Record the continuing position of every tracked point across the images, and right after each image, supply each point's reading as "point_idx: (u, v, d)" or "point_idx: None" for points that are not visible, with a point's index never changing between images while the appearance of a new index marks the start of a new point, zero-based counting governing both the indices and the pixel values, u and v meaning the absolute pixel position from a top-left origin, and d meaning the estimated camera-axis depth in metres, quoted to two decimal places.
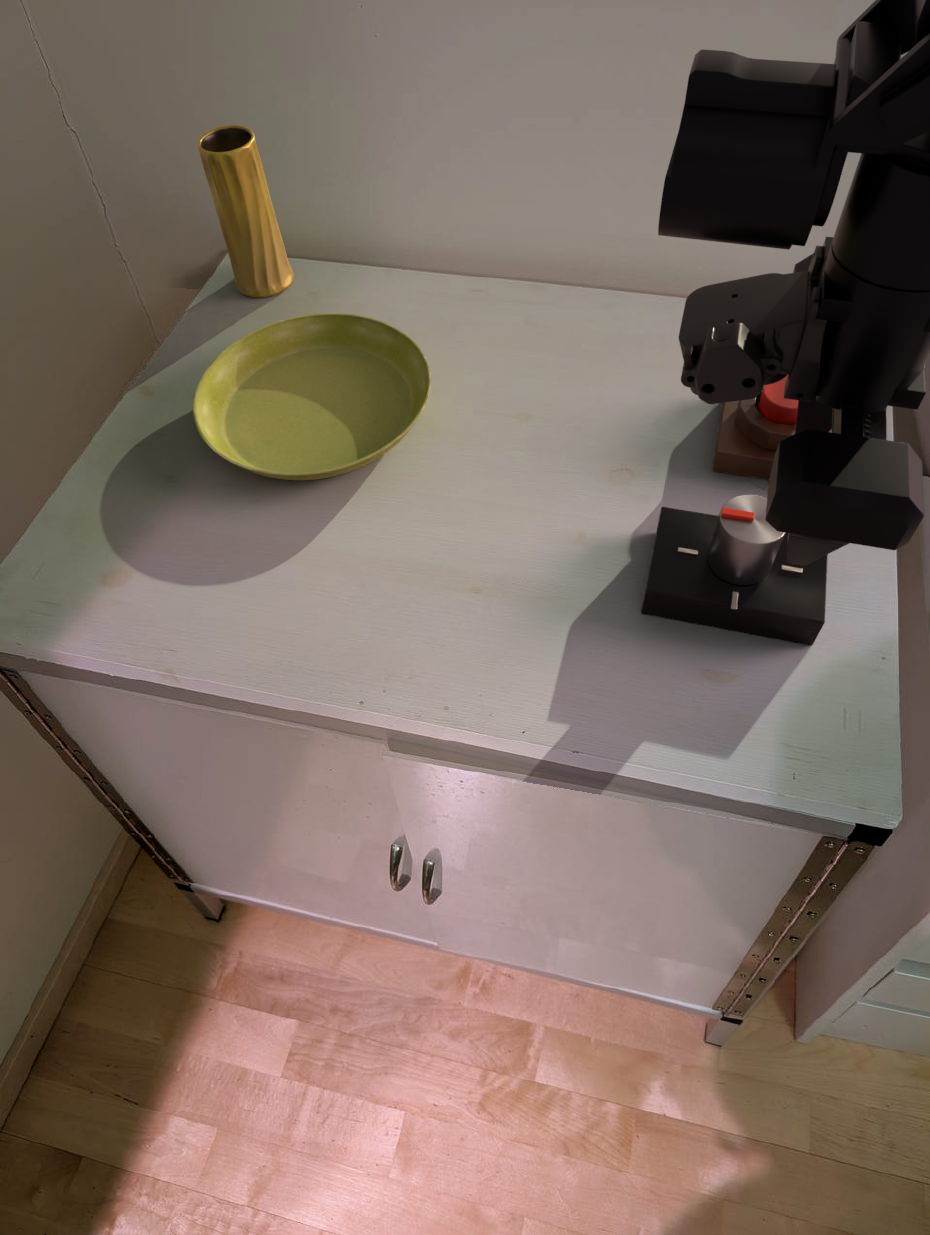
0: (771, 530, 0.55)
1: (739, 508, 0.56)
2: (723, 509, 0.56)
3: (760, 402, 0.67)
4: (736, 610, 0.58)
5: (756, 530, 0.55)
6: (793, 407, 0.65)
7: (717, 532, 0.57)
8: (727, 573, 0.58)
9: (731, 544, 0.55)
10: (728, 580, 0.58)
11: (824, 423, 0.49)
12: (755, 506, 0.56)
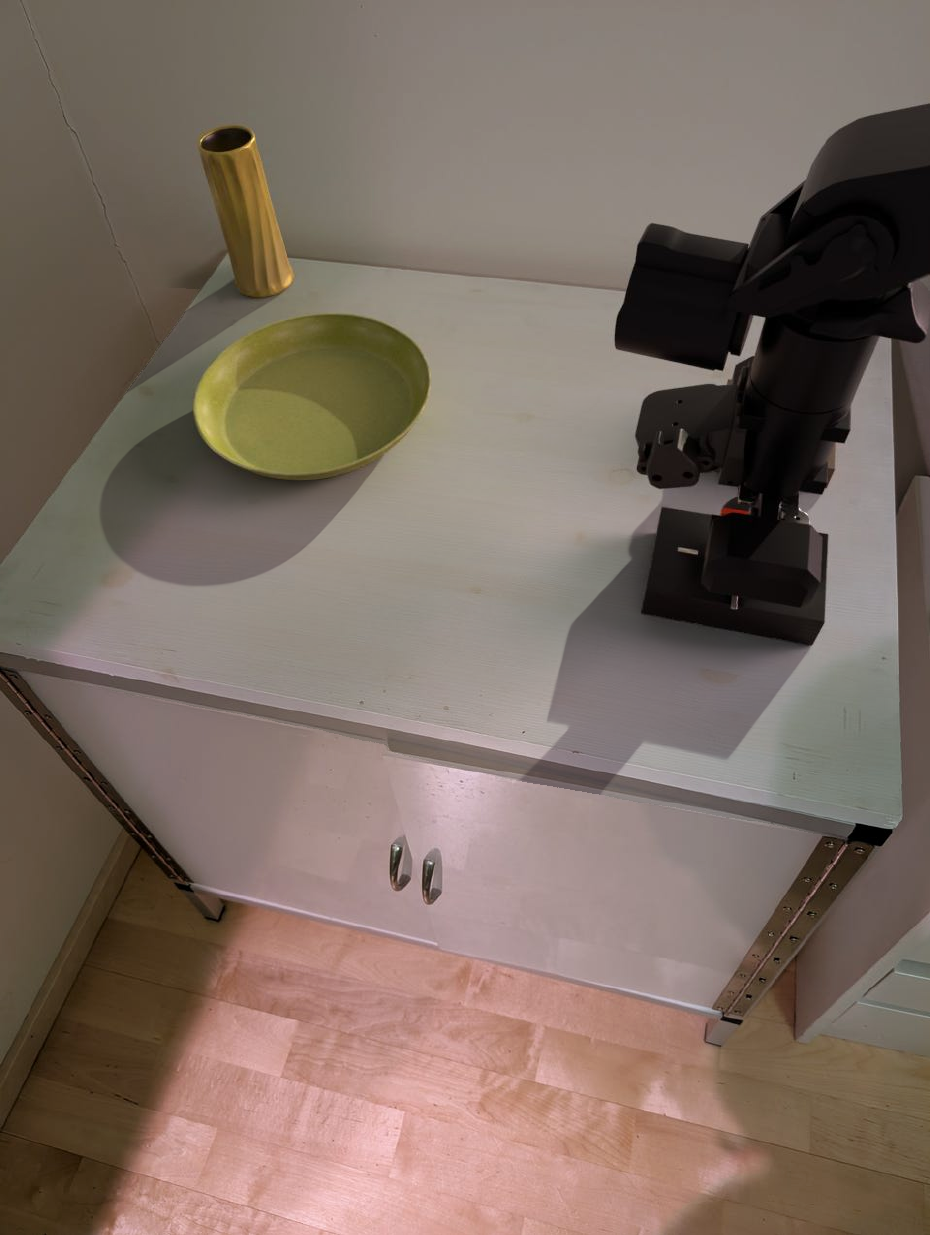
0: None
1: (739, 508, 0.56)
2: (723, 509, 0.56)
3: None
4: (736, 610, 0.58)
5: None
6: None
7: None
8: None
9: None
10: None
11: None
12: (755, 506, 0.56)
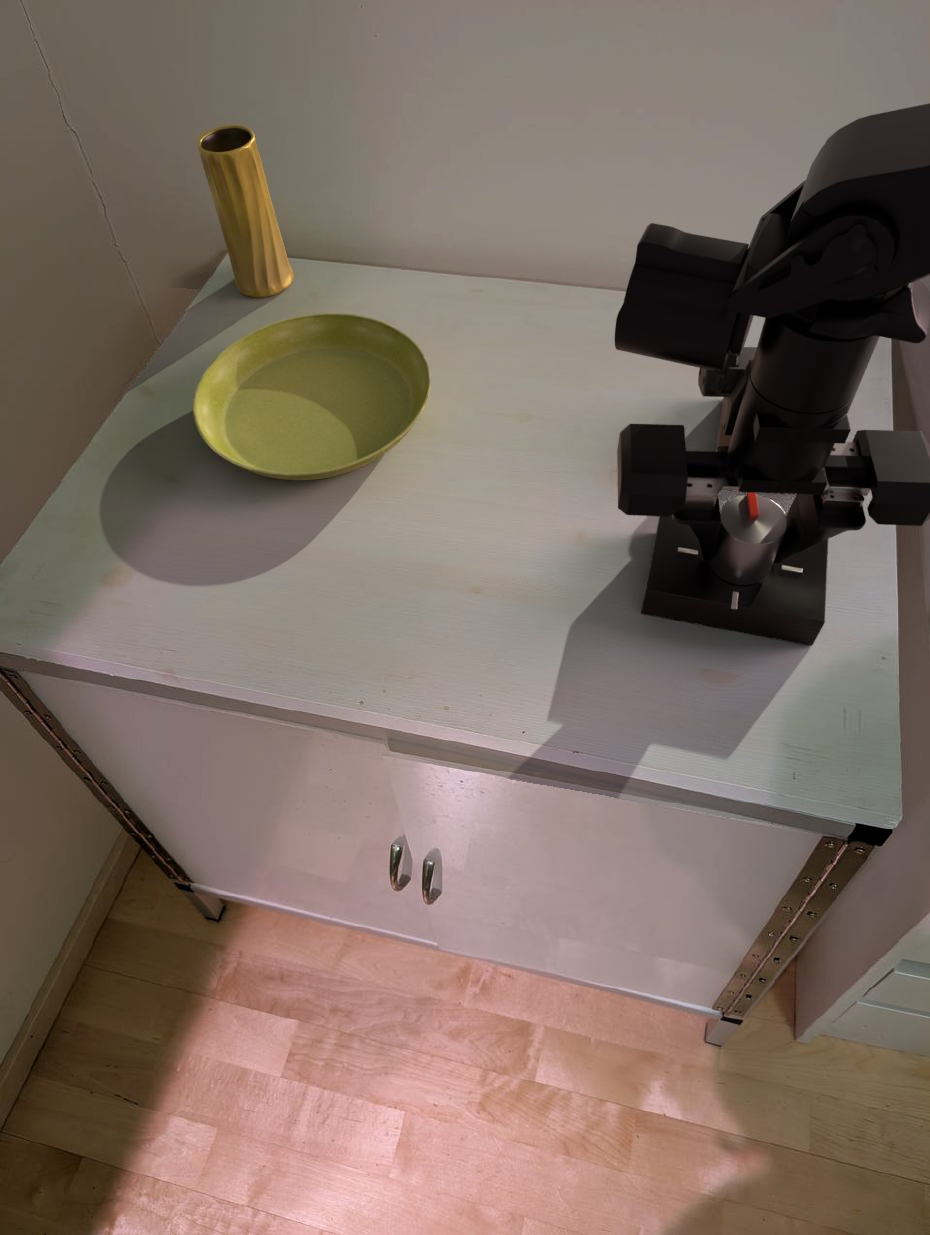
0: (743, 531, 0.55)
1: (762, 507, 0.56)
2: None
3: None
4: (736, 610, 0.58)
5: (738, 520, 0.56)
6: None
7: None
8: None
9: None
10: None
11: (782, 546, 0.57)
12: (770, 519, 0.56)
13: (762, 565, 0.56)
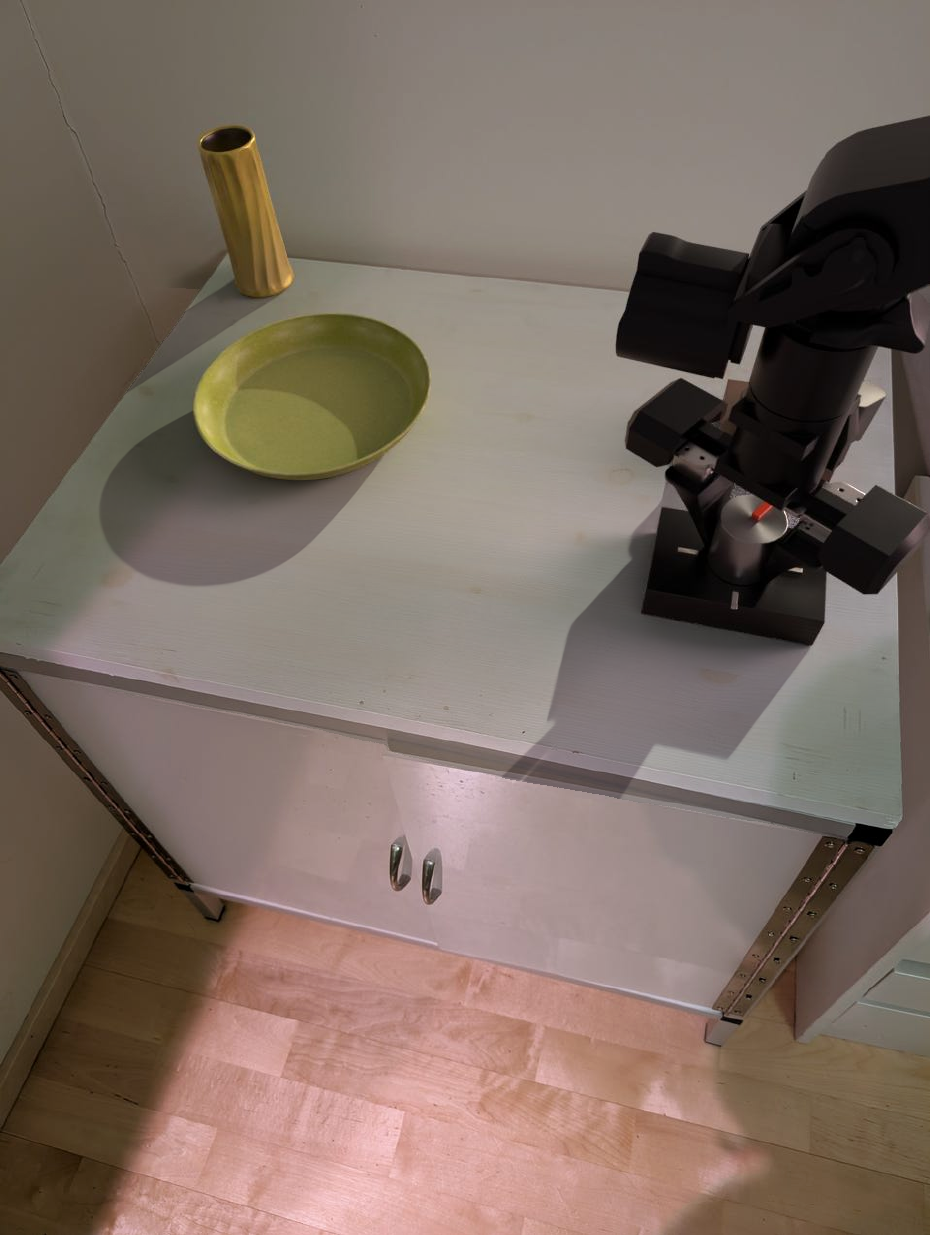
0: (733, 522, 0.56)
1: (771, 515, 0.56)
2: None
3: None
4: (736, 610, 0.58)
5: (739, 512, 0.56)
6: None
7: None
8: None
9: None
10: None
11: None
12: (767, 527, 0.55)
13: (739, 565, 0.56)
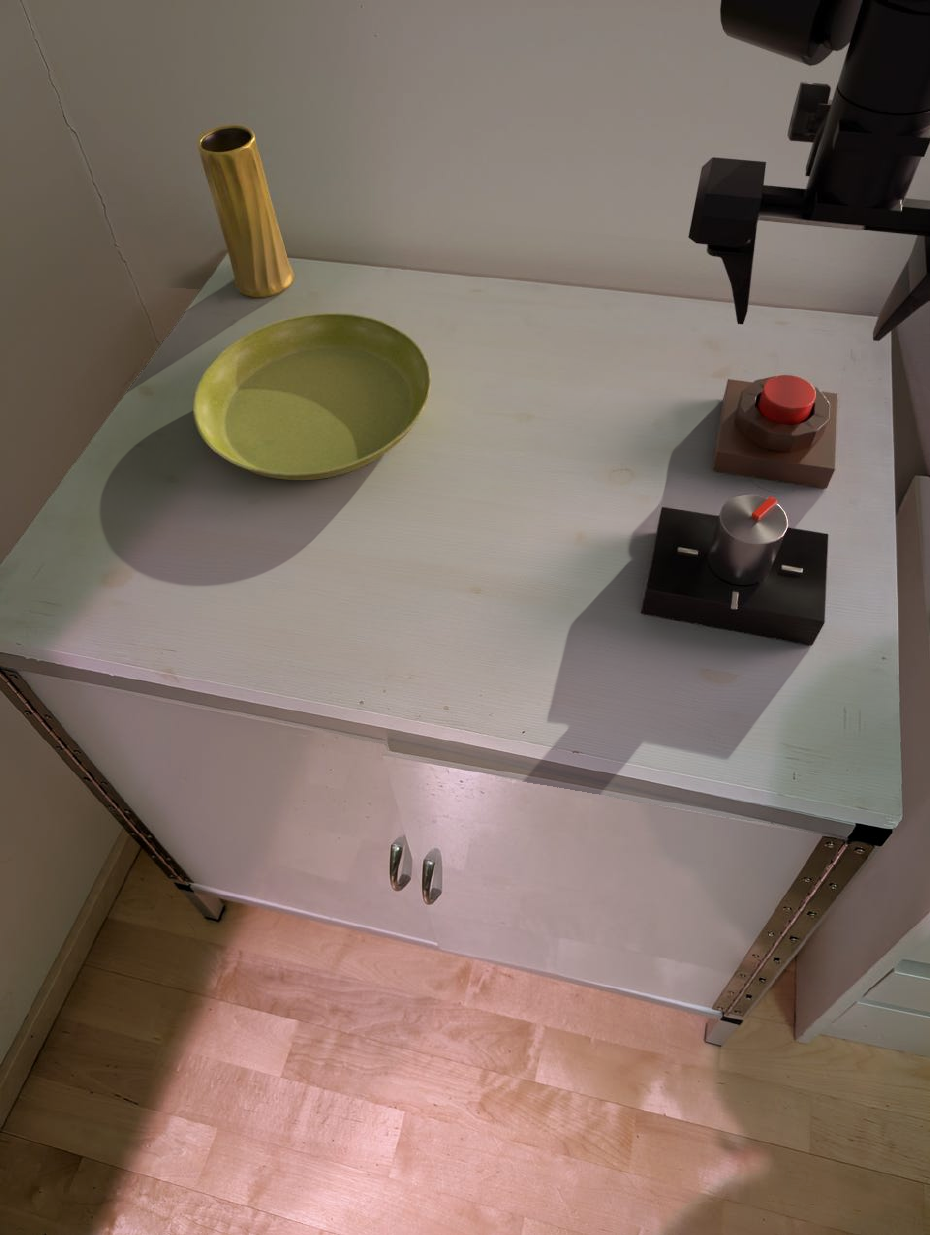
0: (733, 522, 0.56)
1: (771, 515, 0.56)
2: (774, 499, 0.56)
3: (760, 402, 0.67)
4: (736, 610, 0.58)
5: (739, 512, 0.56)
6: (793, 407, 0.65)
7: None
8: None
9: None
10: None
11: (885, 316, 0.56)
12: (767, 527, 0.55)
13: (739, 565, 0.56)
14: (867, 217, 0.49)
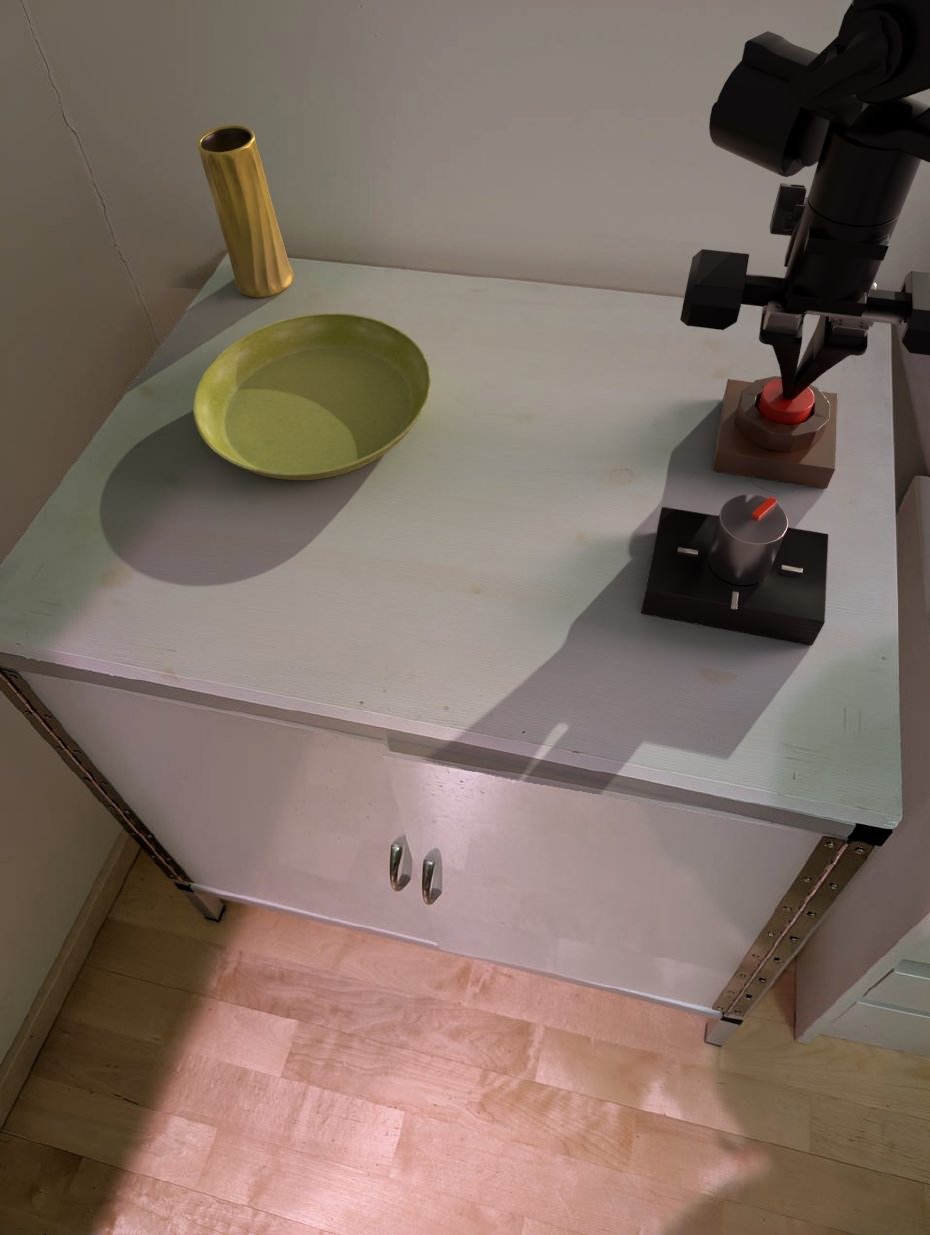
0: (733, 522, 0.56)
1: (771, 515, 0.56)
2: (774, 499, 0.56)
3: (759, 405, 0.67)
4: (736, 610, 0.58)
5: (739, 512, 0.56)
6: (792, 410, 0.65)
7: None
8: None
9: None
10: None
11: (796, 379, 0.64)
12: (767, 527, 0.55)
13: (739, 565, 0.56)
14: (836, 308, 0.56)
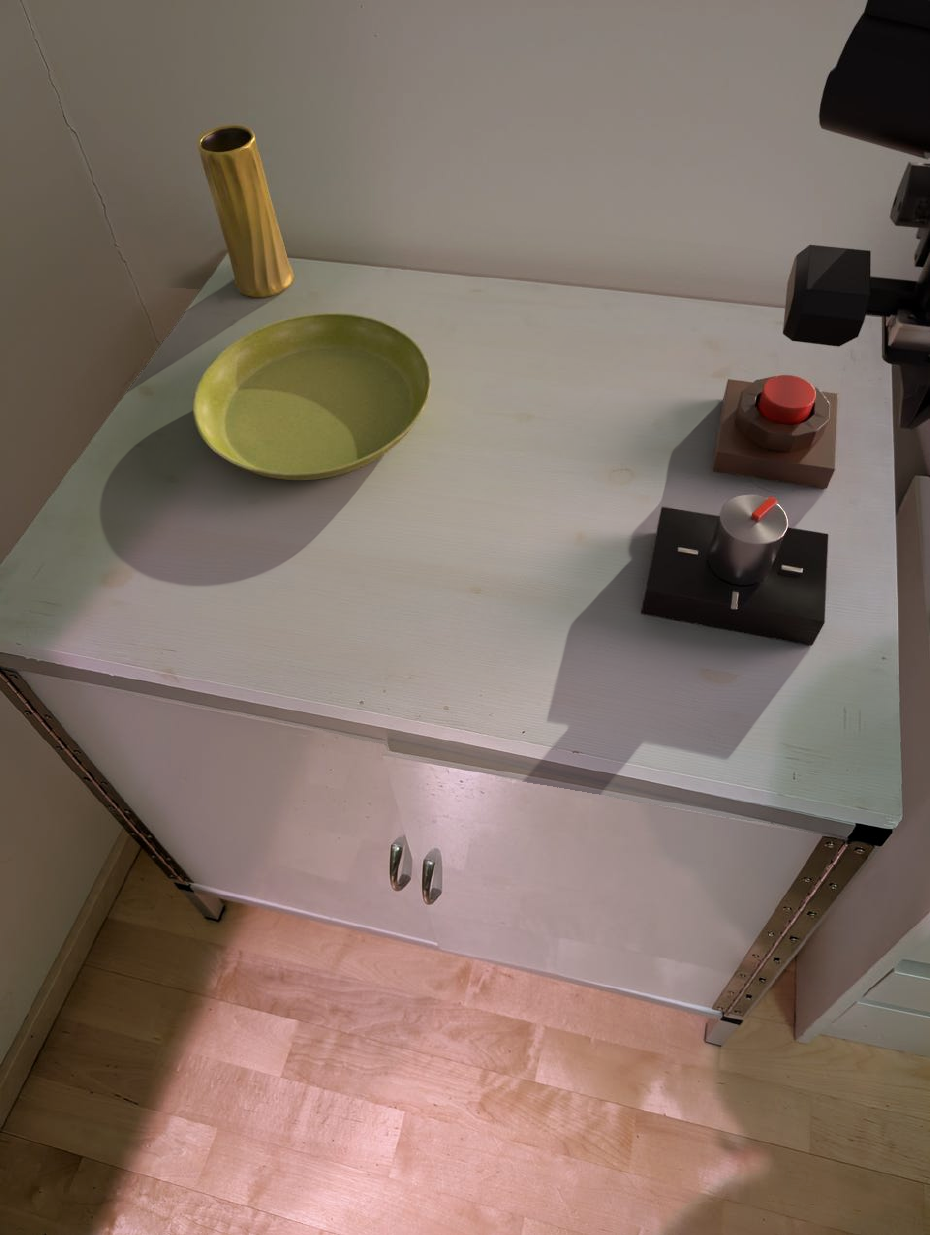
0: (733, 522, 0.56)
1: (771, 515, 0.56)
2: (774, 499, 0.56)
3: (760, 402, 0.67)
4: (736, 610, 0.58)
5: (739, 512, 0.56)
6: (793, 407, 0.65)
7: None
8: None
9: None
10: None
11: (919, 406, 0.52)
12: (767, 527, 0.55)
13: (739, 565, 0.56)
14: None
